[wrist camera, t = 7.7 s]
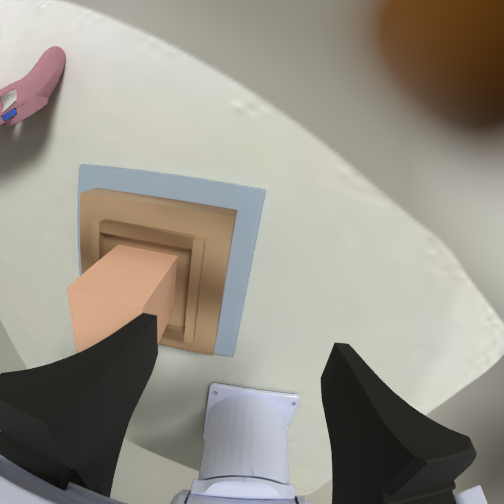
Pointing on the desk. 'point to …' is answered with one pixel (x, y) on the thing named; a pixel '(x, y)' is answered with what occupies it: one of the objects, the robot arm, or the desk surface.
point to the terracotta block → (122, 293)
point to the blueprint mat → (203, 192)
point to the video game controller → (32, 88)
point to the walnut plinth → (168, 242)
